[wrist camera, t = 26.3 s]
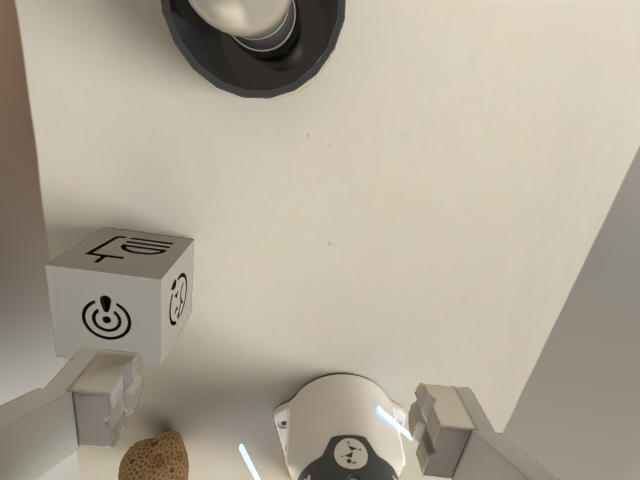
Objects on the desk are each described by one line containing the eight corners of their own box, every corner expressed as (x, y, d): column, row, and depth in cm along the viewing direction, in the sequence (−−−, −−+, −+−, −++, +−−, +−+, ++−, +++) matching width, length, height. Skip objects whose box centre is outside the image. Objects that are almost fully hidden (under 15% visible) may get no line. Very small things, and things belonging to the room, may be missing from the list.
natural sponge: (143, 460, 55) (109, 534, 45) (130, 416, 51) (91, 486, 42) (204, 457, 55) (182, 530, 45) (194, 413, 51) (169, 482, 42)
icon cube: (104, 227, 41) (45, 264, 32) (194, 239, 42) (161, 279, 33) (109, 302, 45) (56, 356, 35) (191, 312, 45) (160, 367, 36)
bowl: (333, 100, 37) (340, 100, 29) (203, 96, 36) (171, 94, 28) (340, -58, 32) (351, -114, 24) (190, -66, 32) (147, -126, 23)
